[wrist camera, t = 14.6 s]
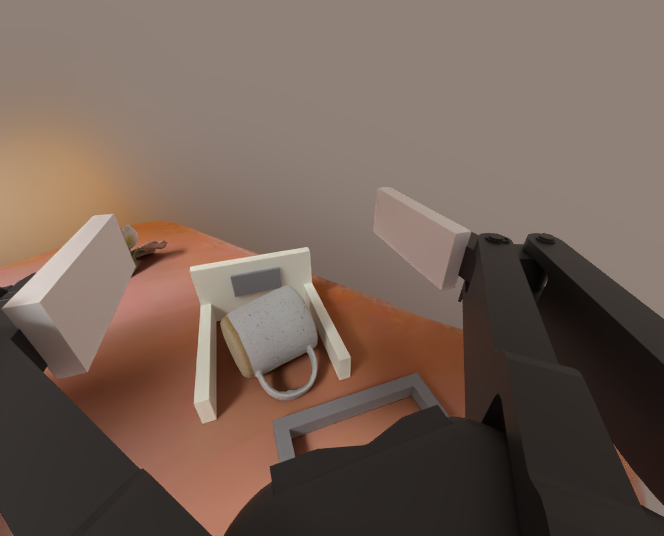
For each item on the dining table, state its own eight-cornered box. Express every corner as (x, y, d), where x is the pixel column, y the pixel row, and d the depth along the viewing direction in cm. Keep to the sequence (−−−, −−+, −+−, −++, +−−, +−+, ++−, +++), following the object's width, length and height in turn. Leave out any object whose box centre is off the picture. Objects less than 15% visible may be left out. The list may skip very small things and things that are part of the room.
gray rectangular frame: (341, 811, 12) (341, 818, 11) (274, 430, 25) (272, 420, 24) (585, 623, 16) (598, 617, 15) (414, 381, 29) (417, 372, 28)
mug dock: (202, 424, 25) (175, 363, 21) (206, 317, 38) (190, 266, 34) (350, 377, 29) (352, 318, 25) (310, 295, 42) (307, 246, 38)
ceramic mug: (225, 352, 33) (209, 300, 28) (287, 322, 37) (281, 273, 33) (267, 425, 25) (254, 369, 21) (338, 377, 30) (338, 323, 26)
